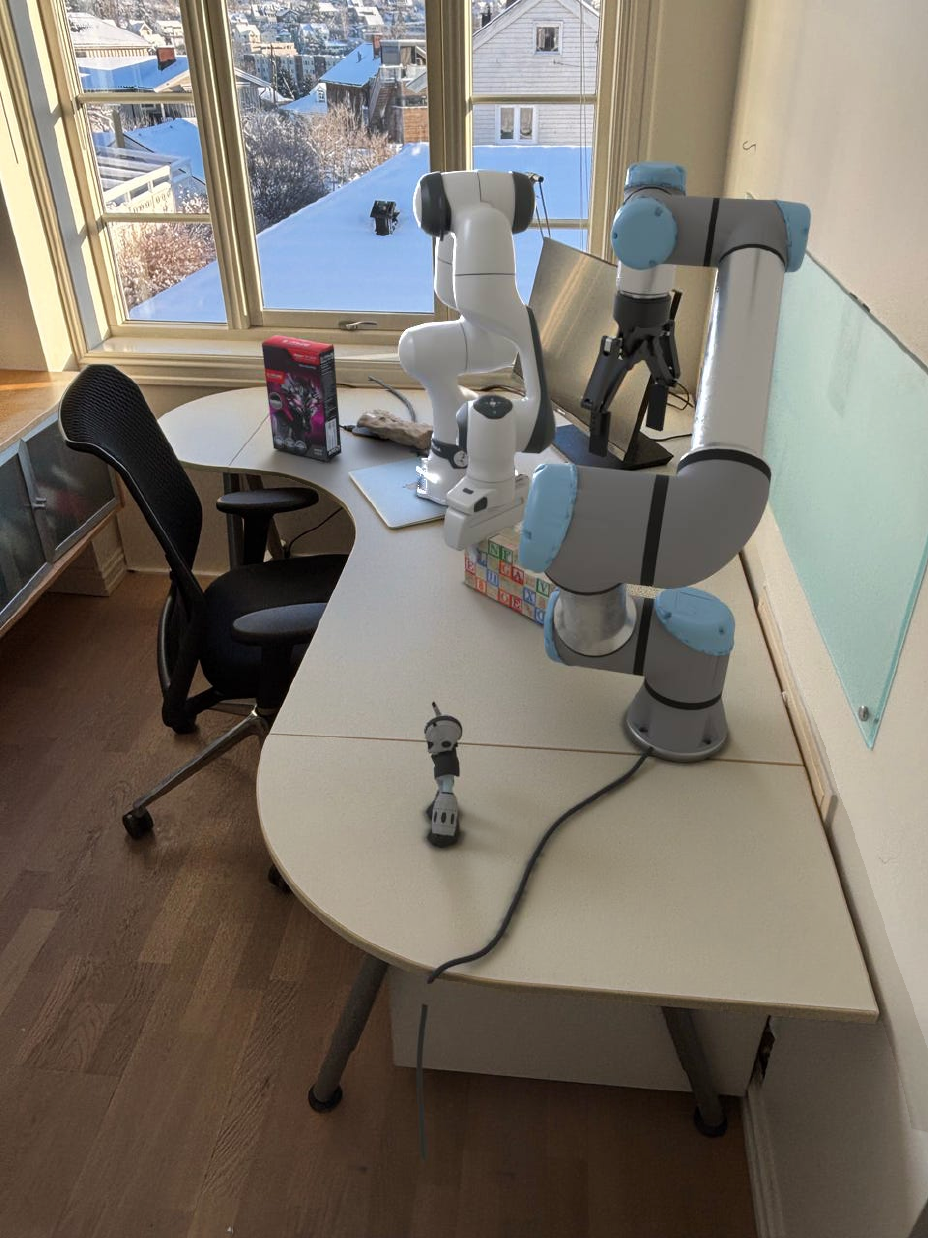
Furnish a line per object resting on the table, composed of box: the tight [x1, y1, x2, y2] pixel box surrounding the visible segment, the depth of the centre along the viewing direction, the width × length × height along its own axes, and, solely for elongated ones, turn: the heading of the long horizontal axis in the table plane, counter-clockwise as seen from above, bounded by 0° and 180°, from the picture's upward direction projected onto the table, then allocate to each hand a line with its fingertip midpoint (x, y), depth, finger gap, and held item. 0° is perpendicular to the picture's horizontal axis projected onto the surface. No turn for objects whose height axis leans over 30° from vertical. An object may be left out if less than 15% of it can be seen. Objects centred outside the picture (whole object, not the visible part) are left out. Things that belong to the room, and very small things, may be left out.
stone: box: [356, 409, 434, 450], centre depth 235 cm, size 21×15×6 cm
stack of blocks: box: [463, 527, 557, 626], centre depth 171 cm, size 21×6×12 cm, turn 45°
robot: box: [423, 701, 463, 848], centre depth 121 cm, size 20×5×20 cm, turn 3°
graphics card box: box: [261, 334, 342, 462], centre depth 222 cm, size 17×7×27 cm, turn 62°
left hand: (488, 553), depth 175 cm, fingers closed on stack of blocks, 6 cm apart
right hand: (626, 441), depth 135 cm, fingers open, 13 cm apart
